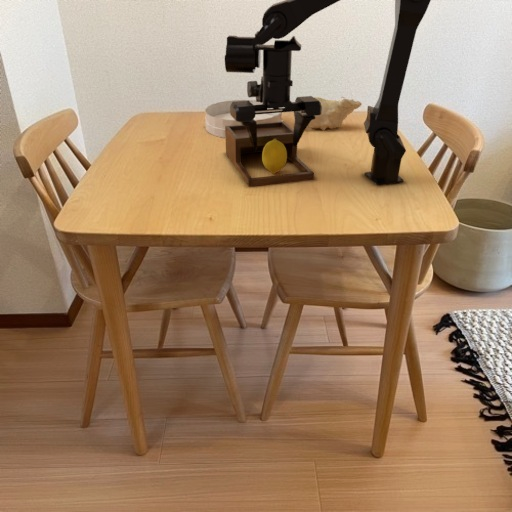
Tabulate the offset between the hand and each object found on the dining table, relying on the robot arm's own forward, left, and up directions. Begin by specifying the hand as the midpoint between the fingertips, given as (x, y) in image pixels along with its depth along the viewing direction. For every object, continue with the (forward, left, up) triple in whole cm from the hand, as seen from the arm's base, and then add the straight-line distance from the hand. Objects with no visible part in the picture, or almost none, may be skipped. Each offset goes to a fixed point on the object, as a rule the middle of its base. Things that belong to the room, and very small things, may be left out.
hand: (275, 147), depth 105 cm
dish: (+36, -2, -6) cm, 36 cm away
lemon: (0, 0, -6) cm, 6 cm away
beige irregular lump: (+30, -26, -6) cm, 40 cm away
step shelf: (+6, 0, -6) cm, 8 cm away
